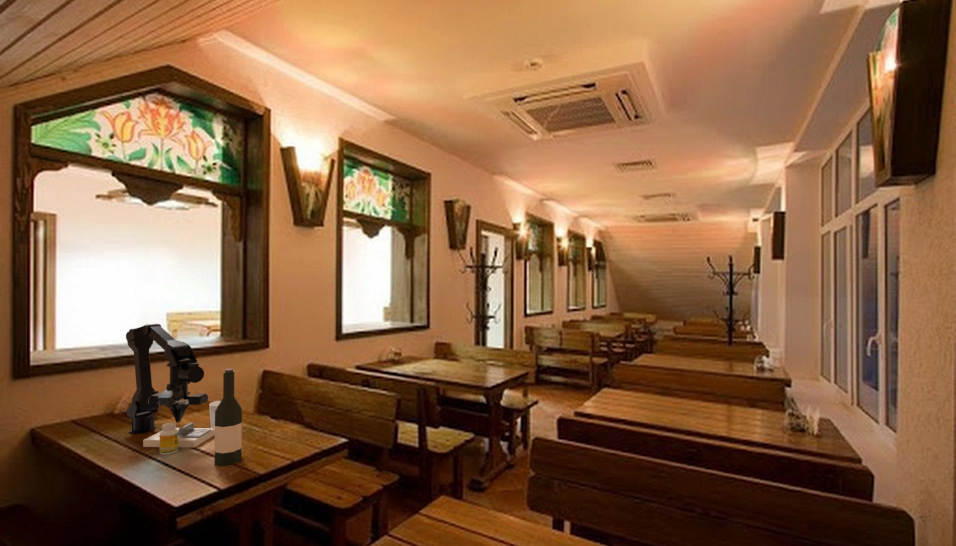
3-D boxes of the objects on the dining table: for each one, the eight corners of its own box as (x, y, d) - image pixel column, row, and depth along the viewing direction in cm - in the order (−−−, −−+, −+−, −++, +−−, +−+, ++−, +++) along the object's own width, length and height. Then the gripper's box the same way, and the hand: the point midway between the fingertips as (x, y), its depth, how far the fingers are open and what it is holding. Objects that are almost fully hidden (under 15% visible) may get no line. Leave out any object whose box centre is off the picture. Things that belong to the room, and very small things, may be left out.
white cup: (236, 425, 191) (236, 400, 191) (223, 432, 183) (224, 406, 183) (217, 424, 192) (217, 399, 192) (204, 431, 184) (204, 405, 184)
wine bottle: (220, 456, 159) (221, 366, 159) (246, 456, 160) (247, 366, 160) (208, 466, 151) (209, 372, 151) (236, 466, 152) (236, 372, 152)
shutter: (178, 437, 170) (178, 428, 170) (191, 430, 178) (191, 422, 178) (199, 437, 170) (199, 429, 170) (211, 430, 178) (211, 422, 178)
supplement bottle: (160, 450, 164) (161, 422, 164) (179, 448, 166) (179, 420, 166) (158, 456, 159) (158, 427, 159) (177, 453, 162) (177, 425, 162)
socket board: (143, 446, 167) (143, 439, 167) (167, 434, 180) (167, 427, 180) (194, 447, 167) (194, 440, 167) (214, 434, 180) (215, 428, 180)
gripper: (137, 384, 166) (136, 429, 166) (191, 385, 166) (190, 430, 166) (159, 377, 177) (158, 419, 177) (209, 378, 177) (208, 420, 177)
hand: (178, 422), depth 174 cm, fingers closed
